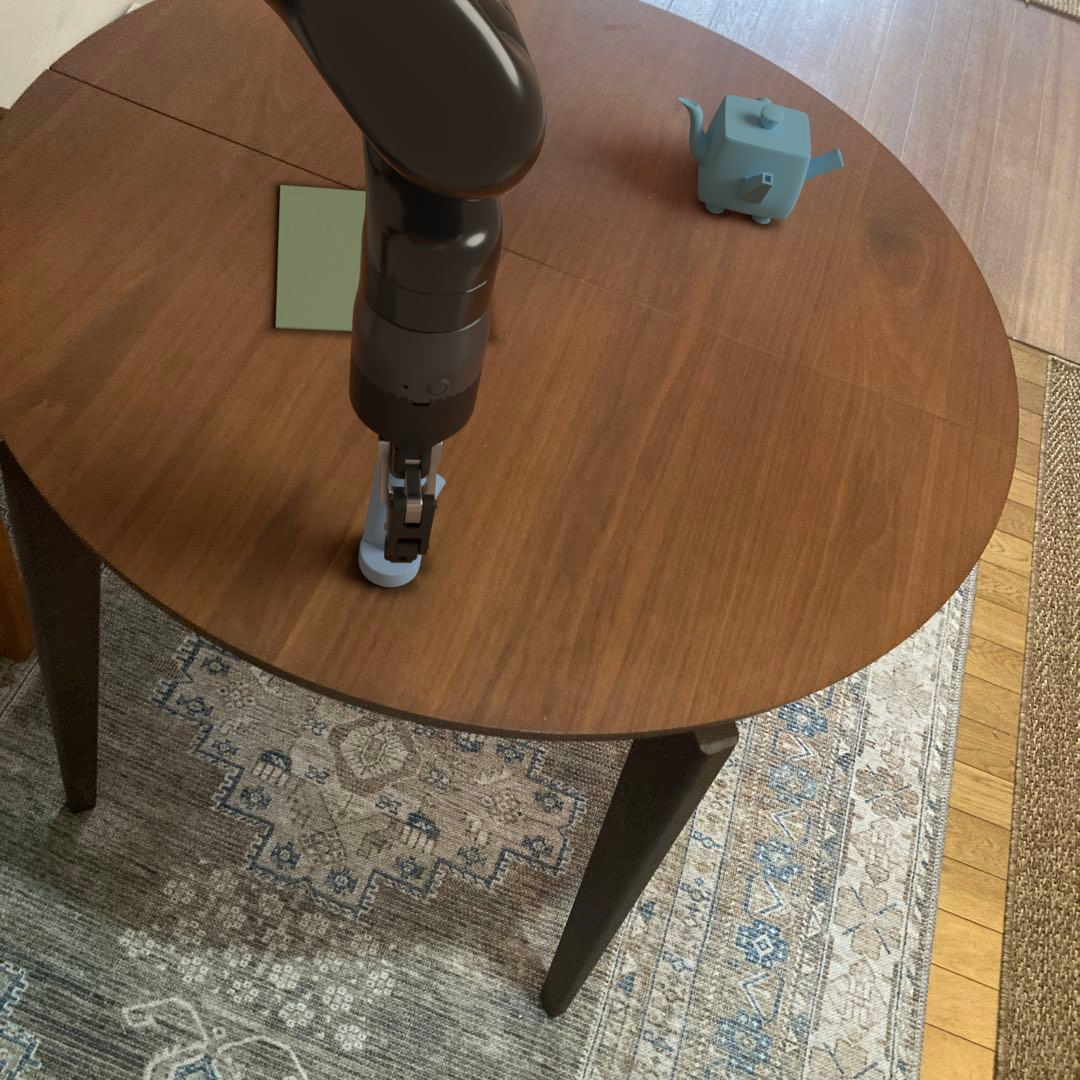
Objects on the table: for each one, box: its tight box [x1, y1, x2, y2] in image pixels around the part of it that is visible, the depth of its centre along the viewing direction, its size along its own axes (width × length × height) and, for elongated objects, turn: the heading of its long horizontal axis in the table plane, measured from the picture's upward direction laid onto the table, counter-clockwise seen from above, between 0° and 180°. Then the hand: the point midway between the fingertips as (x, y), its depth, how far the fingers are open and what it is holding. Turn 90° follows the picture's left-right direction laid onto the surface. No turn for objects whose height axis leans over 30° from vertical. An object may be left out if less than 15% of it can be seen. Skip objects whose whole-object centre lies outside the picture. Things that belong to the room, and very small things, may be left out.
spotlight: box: [358, 459, 447, 588], centre depth 73 cm, size 5×10×7 cm
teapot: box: [678, 94, 845, 225], centre depth 104 cm, size 18×14×10 cm
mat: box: [275, 184, 366, 333], centre depth 94 cm, size 18×18×1 cm
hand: (398, 510), depth 72 cm, fingers closed on spotlight, 7 cm apart
